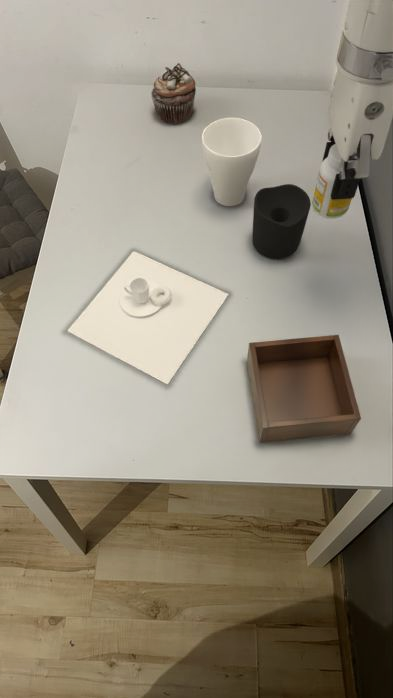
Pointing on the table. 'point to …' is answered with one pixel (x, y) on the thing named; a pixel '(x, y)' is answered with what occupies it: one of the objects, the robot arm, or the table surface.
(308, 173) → the table surface
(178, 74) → the cupcake
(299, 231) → the pen holder
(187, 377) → the table surface
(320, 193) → the supplement bottle
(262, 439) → the holder
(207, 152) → the cup
